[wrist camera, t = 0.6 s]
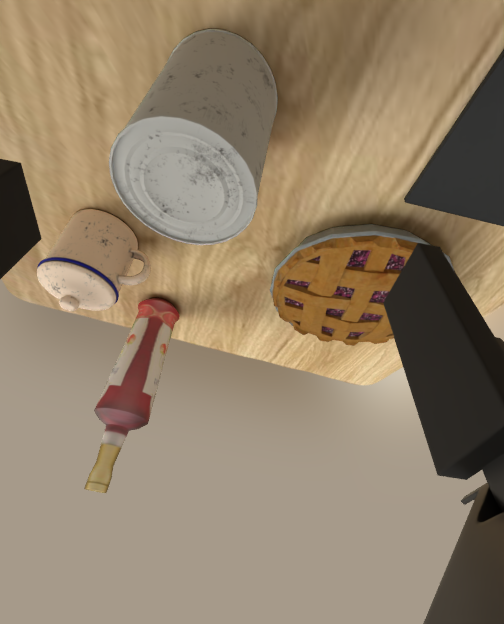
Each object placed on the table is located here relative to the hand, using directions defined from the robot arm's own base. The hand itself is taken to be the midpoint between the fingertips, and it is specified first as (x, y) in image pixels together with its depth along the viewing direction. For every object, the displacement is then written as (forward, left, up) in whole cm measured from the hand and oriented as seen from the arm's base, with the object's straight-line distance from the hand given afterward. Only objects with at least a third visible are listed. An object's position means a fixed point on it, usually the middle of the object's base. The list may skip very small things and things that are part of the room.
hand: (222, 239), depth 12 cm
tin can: (+6, -4, -22) cm, 23 cm away
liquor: (+41, -11, -22) cm, 48 cm away
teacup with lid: (+26, -16, -22) cm, 38 cm away
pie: (+24, +16, -22) cm, 36 cm away
